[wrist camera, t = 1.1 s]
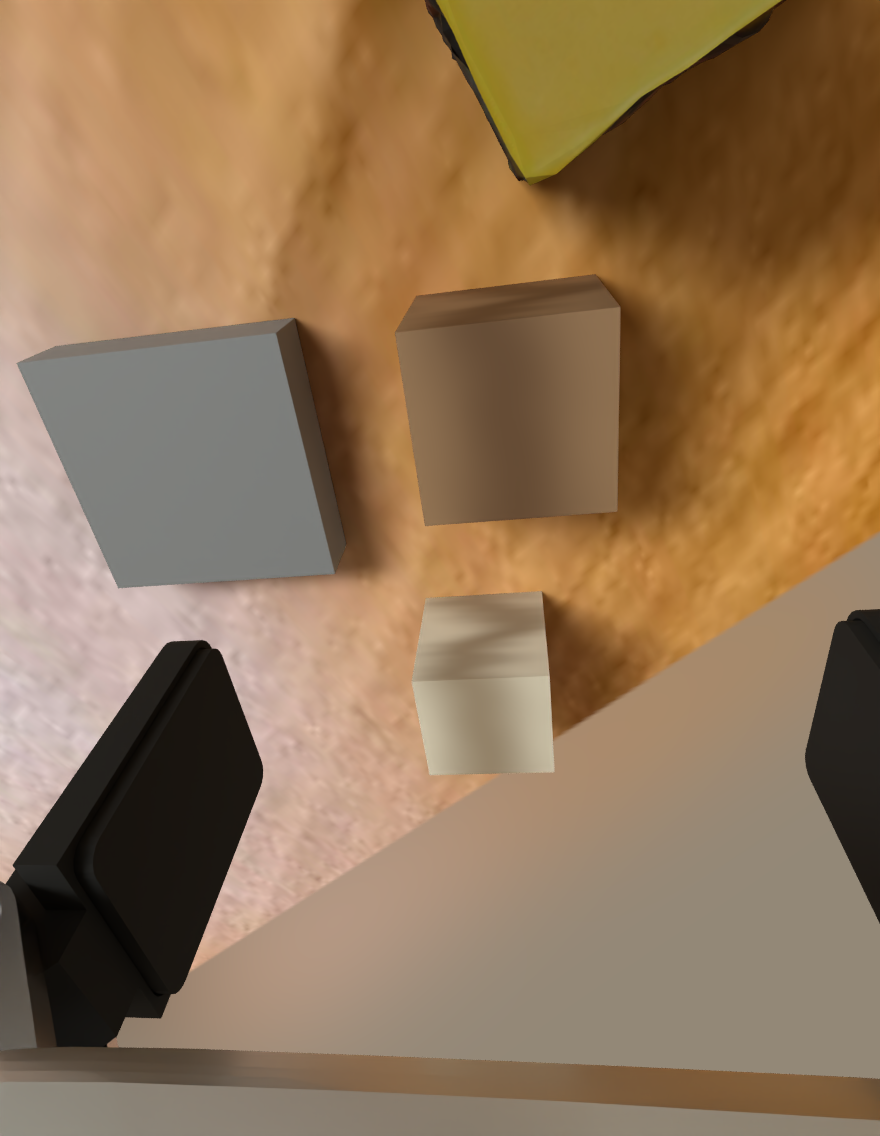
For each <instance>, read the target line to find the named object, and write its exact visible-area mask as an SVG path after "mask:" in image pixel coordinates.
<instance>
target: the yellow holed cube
mask: <svg viewBox="0 0 880 1136" xmlns="http://www.w3.org/2000/svg"><path fill="white" fill-rule="evenodd" d="M784 1H786V0H425V2H426V7H427V10H428V13H429V14H430V15H431V16H432V17H433V19H434V22H435V25H436V28H437V29H438V30H439V32H440V33H441V35H442V37H443V41H444V42H445V44H446V45H447V46H448V47H449V48H450V50H451V52H452V59H454V60H456V61H457V63H458V65H459V67H460V69H461V70H462V72H463V74H464V76H465V78H466V80H467V82H468V83H469V85H470V87H471V88H472V90H473V91H474V93H475V95H476V97H477V99H478V101H479V103H480V105H481V107H482V109H483V111H484V113H485V115H486V118H487V119H488V121H489V123H490V125H491V127H492V129H493V131H494V133H495V135H496V137H497V139H498V141H499V143H500V145H501V147H502V149H503V151H504V153H505V155H506V157H507V159H508V164H509V168H510V170H511V171H512V172H513V173H514V175H515V177H516V178H517V179H518V181H520V180H525V181H527V182H528V183H529V185H532V184H535V183H537V182H539V181H542V180H544V179H546V178H548V177H551V176H553V175H555V174H557V173H558V172H559V171H561V170H562V169H563V168H564V167H565V166H567V165H568V164H569V163H570V162H571V161H572V160H574V159H575V158H576V157H577V156H578V155H580V154H581V153H582V152H583V151H584V150H586V149H587V148H588V147H589V146H590V145H592V144H593V143H594V142H595V141H596V140H597V139H598V138H599V137H600V136H601V135H603V134H605V133H607V132H609V131H610V130H612V129H614V128H615V127H617V126H619V125H620V124H622V123H624V122H625V121H626V120H627V119H628V118H629V117H630V116H631V115H632V114H634V113H635V112H636V111H637V110H638V109H639V108H640V107H641V106H642V105H643V104H644V103H645V102H647V101H648V100H649V99H650V98H651V97H652V96H653V95H654V94H655V93H656V92H657V91H658V90H659V89H660V88H661V87H662V86H663V85H666V84H669V83H671V82H672V81H674V80H675V79H676V78H677V77H679V76H680V75H681V74H682V73H684V72H686V71H687V70H689V69H690V68H692V67H694V66H696V65H698V64H700V63H702V62H704V61H706V60H709V59H712V58H715V57H716V56H718V55H720V54H721V53H723V52H725V51H726V50H728V49H730V48H731V47H733V46H735V45H736V44H738V43H740V42H742V41H743V40H745V39H747V38H749V37H750V36H752V35H754V34H756V33H758V32H759V31H760V30H761V29H762V28H763V27H764V25H765V24H766V23H767V22H768V20H769V18H770V16H771V13H772V11H773V9H775V8H776V7H778V6H779V5H780V4H782V3H783V2H784Z"/></svg>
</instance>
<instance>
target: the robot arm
mask: <svg viewBox="0 0 880 1136" xmlns="http://www.w3.org/2000/svg"><path fill="white" fill-rule="evenodd" d="M805 762H806V768H807V772H808V775H809V778H810V780H811V782H812V784H813V786H814V788H815V790H816V792H817V794H818V796H819V799H820V801H821V803H822V805H823V807H824V809H825V811H826V813H827V815H828V817H829V819H830V821H831V823H832V825H833V828H834V829H835V832H836V834H837V836H838V838H839V840H840V842H841V844H842V846H843V848H844V850H845V852H846V854H847V856H848V859H849V861H850V863H851V865H852V867H853V869H854V871H855V873H856V875H857V877H858V879H859V881H860V883H861V885H862V888H863V890H864V892H865V894H866V896H867V898H868V900H869V902H870V904H871V906H872V908H873V910H874V912H875V914H876V917H877V919H878V921H879V923H880V609H875V610H856V611H853V612H852V613H851V614H850V615H849V616H848V619H847V621H841V622H838V623H837V624H836V626H835V629H834V633H833V637H832V641H831V646H830V650H829V654H828V658H827V663H826V667H825V671H824V675H823V680H822V684H821V688H820V693H819V697H818V701H817V706H816V710H815V714H814V718H813V722H812V727H811V731H810V735H809V739H808V743H807V748H806V753H805ZM262 779H263V765H262V761H261V758H260V756H259V753H258V750H257V748H256V745H255V742H254V740H253V737H252V734H251V732H250V729H249V726H248V724H247V721H246V718H245V716H244V713H243V710H242V708H241V705H240V702H239V700H238V697H237V694H236V692H235V689H234V686H233V684H232V681H231V678H230V676H229V673H228V670H227V668H226V665H225V662H224V659H223V657H222V655H221V653H220V651H219V650H218V649H212V648H211V646H210V644H209V643H208V642H206V641H203V640H196V641H174V642H169V643H167V644H166V645H165V646H164V647H163V648H162V650H161V651H160V653H159V654H158V656H157V657H156V658H155V660H154V661H153V663H152V664H151V666H150V667H149V669H148V670H147V671H146V673H145V674H144V676H143V677H142V679H141V680H140V682H139V683H138V684H137V686H136V687H135V689H134V690H133V692H132V693H131V695H130V696H129V697H128V699H127V700H126V702H125V703H124V705H123V706H122V708H121V709H120V710H119V712H118V713H117V715H116V716H115V718H114V719H113V721H112V722H111V723H110V725H109V726H108V728H107V729H106V731H105V732H104V734H103V735H102V737H101V738H100V739H99V741H98V742H97V744H96V745H95V747H94V748H93V750H92V751H91V752H90V754H89V755H88V757H87V758H86V760H85V761H84V763H83V764H82V765H81V767H80V768H79V770H78V771H77V773H76V774H75V776H74V777H73V778H72V780H71V781H70V783H69V784H68V786H67V787H66V789H65V790H64V791H63V793H62V794H61V796H60V797H59V799H58V800H57V802H56V803H55V804H54V806H53V807H52V809H51V810H50V812H49V813H48V815H47V816H46V817H45V819H44V820H43V822H42V823H41V825H40V826H39V828H38V829H37V830H36V832H35V833H34V835H33V836H32V838H31V839H30V841H29V842H28V843H27V845H26V846H25V848H24V849H23V851H22V852H21V854H20V855H19V856H18V858H17V859H16V861H15V862H14V864H13V867H14V868H15V871H14V872H13V874H12V875H11V877H10V878H9V880H8V881H7V883H6V884H4V883H3V882H1V881H0V1136H880V1079H872V1078H857V1077H836V1076H816V1075H795V1074H774V1073H753V1072H732V1071H710V1070H690V1069H670V1068H669V1069H668V1068H649V1067H626V1066H605V1065H581V1064H558V1063H536V1062H512V1061H490V1060H465V1059H442V1058H418V1057H417V1058H415V1057H393V1056H370V1055H369V1056H368V1055H343V1054H315V1053H288V1052H262V1051H236V1050H235V1051H234V1050H209V1049H177V1048H119V1046H118V1042H117V1038H116V1037H117V1035H118V1032H119V1030H120V1028H121V1026H122V1023H123V1021H124V1019H125V1017H136V1018H161V1017H162V1015H163V1012H164V1010H165V1007H166V1005H167V1002H168V1000H169V997H170V995H171V994H176V993H177V992H178V991H179V990H180V989H181V988H182V986H183V984H184V982H185V980H186V978H187V975H188V973H189V970H190V968H191V965H192V962H193V960H194V957H195V955H196V952H197V949H198V947H199V944H200V942H201V939H202V937H203V934H204V931H205V929H206V926H207V924H208V921H209V918H210V916H211V913H212V911H213V908H214V906H215V903H216V900H217V898H218V895H219V893H220V890H221V887H222V885H223V882H224V880H225V877H226V875H227V872H228V869H229V867H230V864H231V862H232V859H233V856H234V854H235V851H236V849H237V846H238V844H239V841H240V838H241V836H242V833H243V831H244V828H245V825H246V823H247V820H248V818H249V815H250V813H251V810H252V807H253V805H254V802H255V800H256V797H257V794H258V792H259V789H260V787H261V783H262Z"/></svg>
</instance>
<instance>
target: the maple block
mask: <svg viewBox="0 0 880 1136" xmlns="http://www.w3.org/2000/svg"><path fill="white" fill-rule="evenodd" d="M412 686H413V691H414V696H415V701H416V707H417V712H418V717H419V722H420V727H421V732H422V738H423V743H424V748H425V753H426V758H427V764H428V769H429V774H430V775H456V774H499V773H539V772H554V753H553V733H552V713H551V694H550V675H549V664H548V653H547V642H546V631H545V620H544V609H543V598H542V591H538V592H521V593H504V594H487V595H470V596H453V597H437V598H426V600H425V606H424V612H423V618H422V624H421V630H420V636H419V642H418V648H417V653H416V659H415V665H414V671H413V677H412Z"/></svg>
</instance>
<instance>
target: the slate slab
mask: <svg viewBox="0 0 880 1136" xmlns="http://www.w3.org/2000/svg"><path fill="white" fill-rule="evenodd" d="M17 365H18V367H19V369H20V372H21V374H22V376H23V378H24V380H25V383H26V385H27V387H28V389H29V391H30V394H31V396H32V398H33V400H34V403H35V405H36V407H37V409H38V411H39V414H40V416H41V418H42V420H43V422H44V425H45V427H46V429H47V431H48V433H49V436H50V438H51V440H52V442H53V445H54V447H55V449H56V451H57V453H58V456H59V458H60V460H61V462H62V464H63V467H64V469H65V471H66V473H67V476H68V478H69V480H70V482H71V484H72V487H73V489H74V491H75V493H76V495H77V498H78V500H79V502H80V504H81V507H82V509H83V511H84V513H85V515H86V518H87V520H88V522H89V524H90V526H91V529H92V531H93V533H94V535H95V538H96V540H97V542H98V544H99V546H100V549H101V551H102V553H103V555H104V557H105V560H106V562H107V564H108V566H109V569H110V571H111V573H112V575H113V577H114V580H115V582H116V584H117V586H118V588H127V587H143V586H158V585H173V584H188V583H204V582H219V581H234V580H249V579H264V578H280V577H295V576H310V575H325V574H335V572H336V570H337V567H338V565H339V562H340V560H341V557H342V555H343V552H344V549H345V547H346V541H345V536H344V532H343V528H342V523H341V519H340V515H339V510H338V506H337V501H336V497H335V493H334V488H333V484H332V480H331V475H330V471H329V466H328V462H327V458H326V453H325V449H324V444H323V440H322V436H321V431H320V427H319V423H318V418H317V414H316V409H315V405H314V401H313V396H312V392H311V388H310V383H309V379H308V374H307V370H306V366H305V361H304V357H303V353H302V348H301V344H300V339H299V335H298V331H297V326H296V322H295V318H290V319H281V320H273V321H264V322H256V323H248V324H239V325H231V326H222V327H214V328H206V329H197V330H189V331H180V332H172V333H164V334H155V335H147V336H139V337H130V338H122V339H113V340H105V341H97V342H88V343H80V344H71V345H63V346H55V347H53V348H50V349H48V350H46V351H43V352H41V353H39V354H37V355H34V356H32V357H30V358H27V359H25V360H23V361H20V362H18V363H17Z"/></svg>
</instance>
